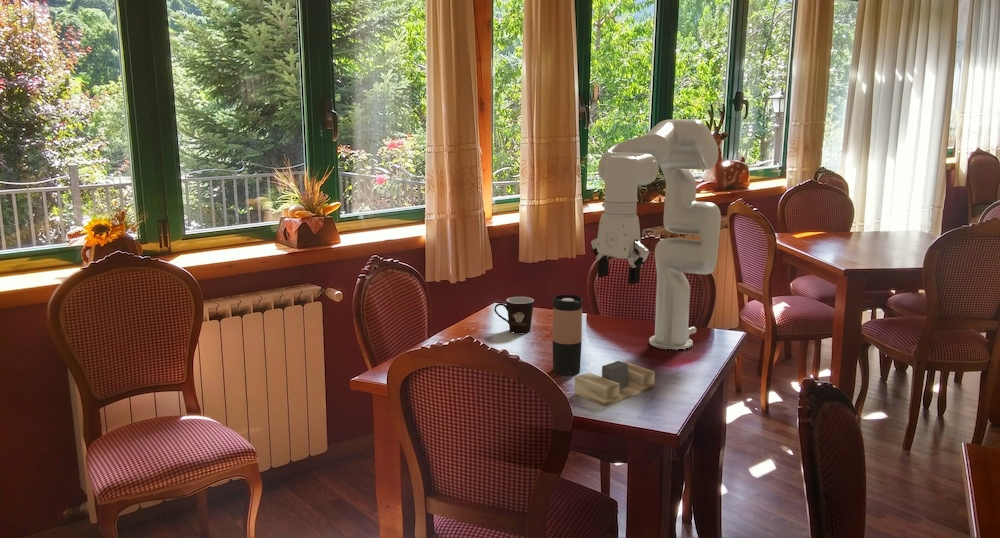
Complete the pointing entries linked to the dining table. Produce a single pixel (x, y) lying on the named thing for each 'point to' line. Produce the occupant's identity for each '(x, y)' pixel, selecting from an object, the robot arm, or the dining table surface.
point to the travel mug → (567, 334)
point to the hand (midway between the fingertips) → (618, 279)
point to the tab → (616, 373)
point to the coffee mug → (518, 313)
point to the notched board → (614, 385)
